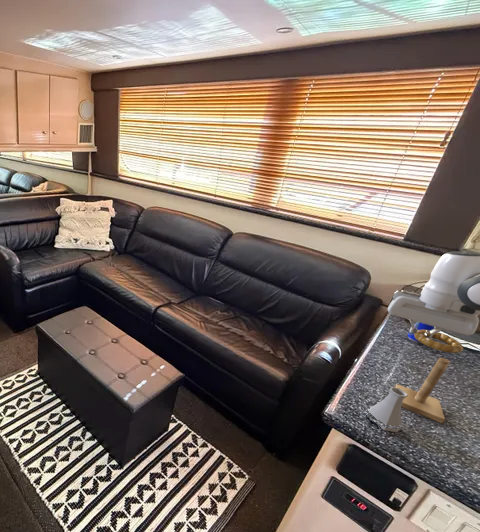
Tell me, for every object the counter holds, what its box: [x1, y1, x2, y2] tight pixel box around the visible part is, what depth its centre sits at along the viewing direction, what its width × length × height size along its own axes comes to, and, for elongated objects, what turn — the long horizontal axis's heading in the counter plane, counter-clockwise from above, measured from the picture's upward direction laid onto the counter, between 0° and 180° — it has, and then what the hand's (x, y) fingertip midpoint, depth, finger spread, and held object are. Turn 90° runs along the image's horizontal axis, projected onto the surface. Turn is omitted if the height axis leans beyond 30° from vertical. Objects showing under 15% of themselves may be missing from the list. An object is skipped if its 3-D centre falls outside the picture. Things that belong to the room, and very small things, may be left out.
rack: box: [394, 357, 451, 424], centre depth 86 cm, size 9×9×16 cm
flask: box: [363, 386, 408, 433], centre depth 81 cm, size 7×7×10 cm
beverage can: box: [407, 322, 435, 344], centre depth 117 cm, size 5×5×15 cm
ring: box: [414, 330, 464, 354], centre depth 106 cm, size 11×11×2 cm
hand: (420, 334), depth 108 cm, fingers closed on ring, 2 cm apart
